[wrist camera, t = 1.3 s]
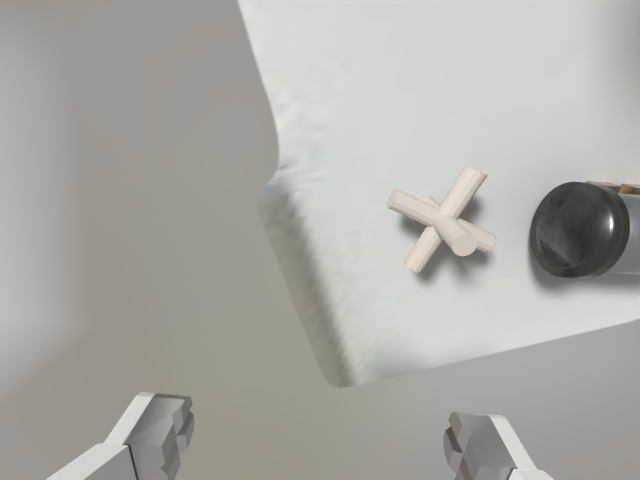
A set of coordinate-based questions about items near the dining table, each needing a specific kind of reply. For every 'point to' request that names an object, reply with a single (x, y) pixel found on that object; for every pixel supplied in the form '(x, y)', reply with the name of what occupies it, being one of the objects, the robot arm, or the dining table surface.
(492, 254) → the dining table surface
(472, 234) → the beige crossed rods piece
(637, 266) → the lidded storage canister
